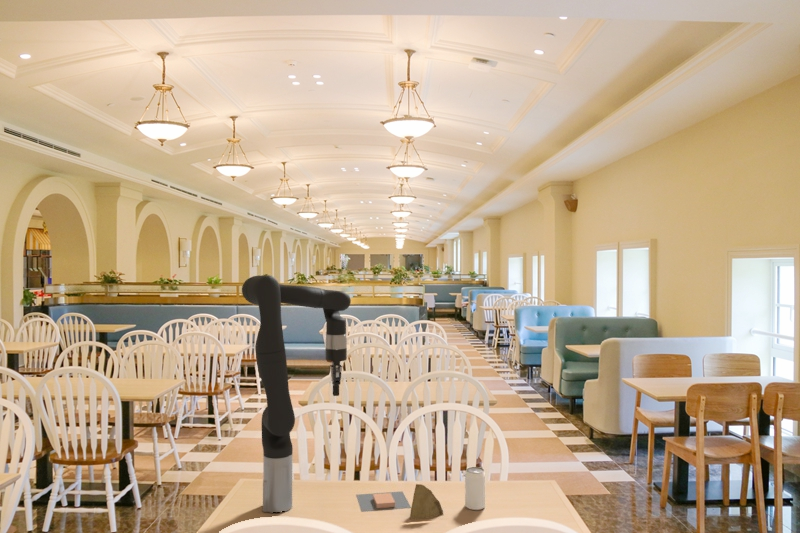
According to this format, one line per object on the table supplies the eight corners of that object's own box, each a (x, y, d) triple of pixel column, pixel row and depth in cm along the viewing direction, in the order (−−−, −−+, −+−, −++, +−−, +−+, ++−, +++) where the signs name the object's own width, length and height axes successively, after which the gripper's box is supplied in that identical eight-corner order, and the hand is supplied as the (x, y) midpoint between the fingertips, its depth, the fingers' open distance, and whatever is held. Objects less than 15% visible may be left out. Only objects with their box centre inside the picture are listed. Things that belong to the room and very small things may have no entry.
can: (469, 511, 187) (469, 474, 187) (462, 503, 193) (462, 467, 193) (488, 509, 189) (488, 472, 189) (480, 501, 195) (480, 465, 195)
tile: (372, 499, 195) (376, 508, 188) (372, 494, 195) (376, 503, 188) (390, 497, 197) (395, 507, 189) (390, 492, 197) (395, 502, 189)
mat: (361, 513, 185) (361, 511, 185) (356, 496, 199) (356, 494, 199) (411, 509, 189) (411, 507, 189) (402, 493, 202) (402, 491, 202)
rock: (446, 503, 188) (416, 496, 190) (447, 488, 183) (416, 481, 185) (439, 535, 180) (408, 527, 182) (440, 520, 175) (407, 512, 177)
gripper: (324, 344, 215) (324, 392, 215) (326, 349, 202) (326, 400, 202) (344, 344, 217) (344, 391, 217) (348, 349, 204) (348, 399, 204)
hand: (335, 395), depth 209 cm, fingers closed
